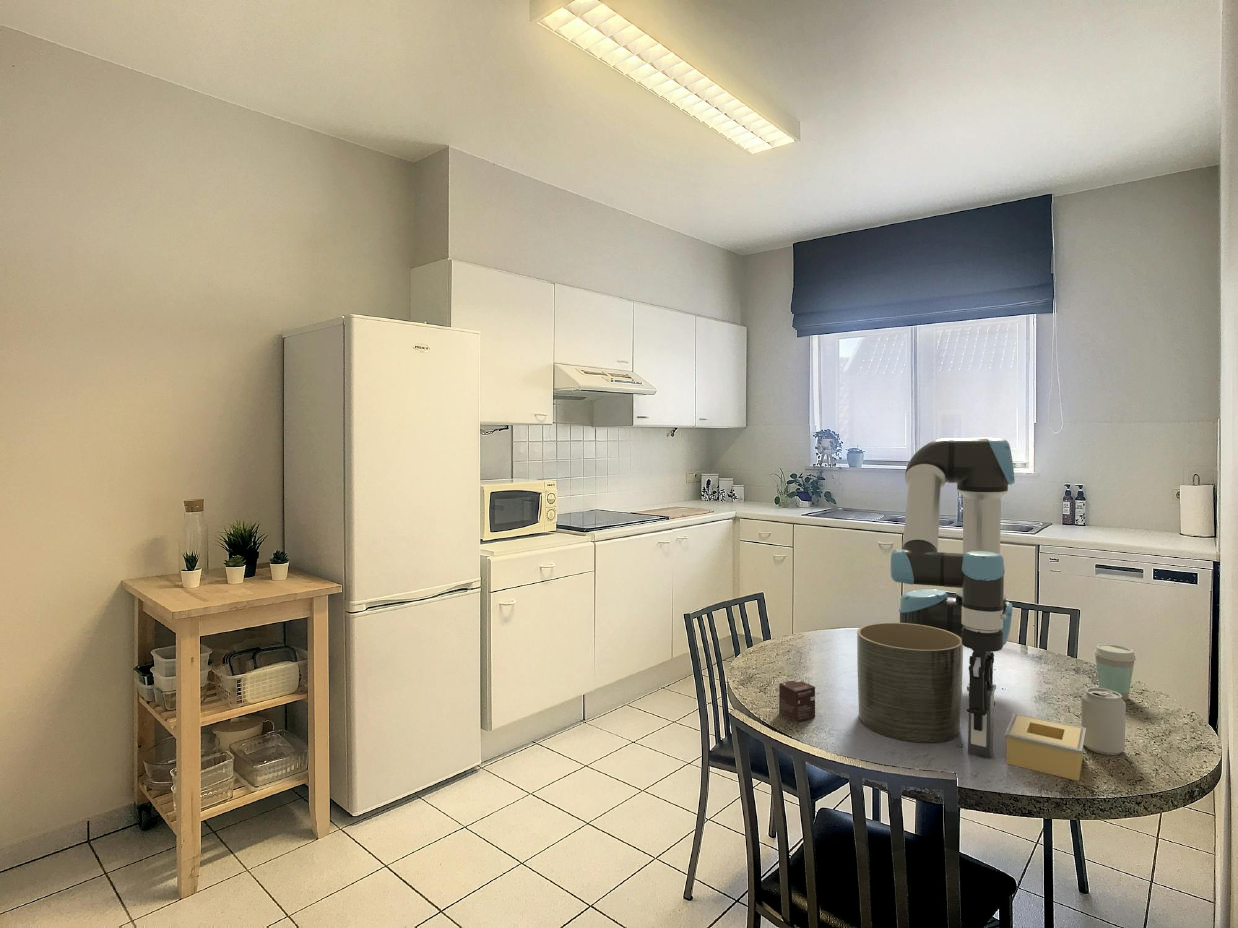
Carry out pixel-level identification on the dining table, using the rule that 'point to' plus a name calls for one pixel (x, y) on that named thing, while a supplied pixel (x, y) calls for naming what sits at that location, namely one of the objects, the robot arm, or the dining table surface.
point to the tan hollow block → (1045, 746)
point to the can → (1103, 721)
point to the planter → (910, 681)
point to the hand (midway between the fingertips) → (980, 740)
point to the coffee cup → (1115, 668)
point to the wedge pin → (988, 750)
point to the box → (797, 700)
